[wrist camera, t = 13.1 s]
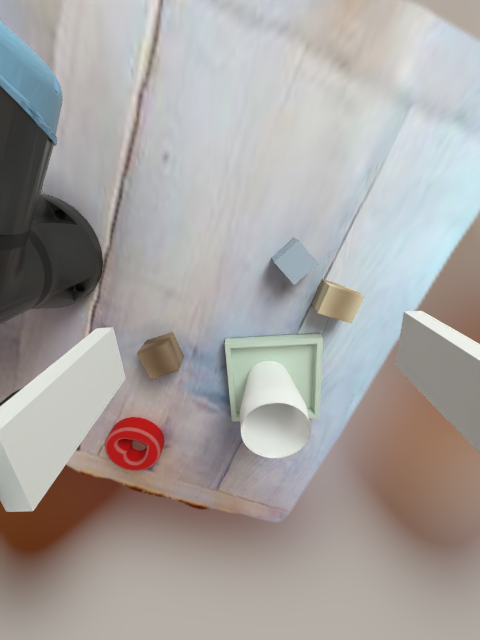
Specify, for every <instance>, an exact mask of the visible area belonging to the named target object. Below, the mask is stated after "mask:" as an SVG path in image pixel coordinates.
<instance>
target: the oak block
mask: <svg viewBox="0 0 480 640" xmlns="http://www.w3.org/2000/svg"><path fill="white" fill-rule="evenodd" d="M363 299H364V296H363V295H361V294H360V293H359V292H357V291H356V290H354V289H352V288H349V287H346V286H342V285H339V284H336V283H333V282H330V281H327V280H323V279H322V281H321V283H320V285H319V288H318V290H317V293H316V295H315V297H314V300H313V302H312V306H313V307H314V309H315V310H316V311H317V313H319V314H322V315H325V316H329V317H332V318H335V319H338V320H342V321H345V322H348V323H352V321H353V319H354V317H355V315H356V313H357V311H358V309H359V307H360V305H361V303H362V301H363Z"/></svg>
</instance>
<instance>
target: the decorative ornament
mask: <svg viewBox="0 0 480 640" xmlns="http://www.w3.org/2000/svg"><path fill="white" fill-rule="evenodd" d="M129 439H132V440H136V441H139V442H142V443H144V444H146V445H147V448H146V449H145V450H143V451H137V450H135V449H134V448H133V447H132V441H131V440H129ZM163 446H164V436H163V433H162V431H161V430H160V429H159V428H158V427H157V426H156V425H155V424H154V423H152V422H150V421H148V420H146V419H143V418H136V417H131V418H126V419H123V420H121V421H119V422H118V423H117V424H116V425H115V426H114V427H113V429H112V431H111V432H110V434H109V436H108V437H107V439H106V442H105V449H106V453H107V455H108V456H109V458H110V459H111V460H112V461H113V462H114V463H115V464H116V465H118V466H120V467H122V468H124V469H128V470H144V469H147V468H150V467H151V466H153V465H154V464H155V463H156V462H157V461H158V459H159V457H160V454H161V451H162V449H163Z"/></svg>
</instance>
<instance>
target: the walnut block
mask: <svg viewBox="0 0 480 640" xmlns="http://www.w3.org/2000/svg"><path fill="white" fill-rule="evenodd" d="M137 355H138V357H139V359H140V361H141V362H142V364H143V366H144V368H145V370H146V372H147V374H148V376H149V378H150V379H153V378H156V377H159V376H163V375H166V374H170V373H173V372H176V371H178V370H179V368H180V365H181V363H182V360H183V358H184V355H183V353H182V351H181V349H180V347H179V344H178V342H177V340H176V338H175V336H174V334H173V332H172V333H169V334H166V335H162V336H159V337H156V338H153V339H150V340H147V341H146V342H145V343H144V345H143V346H142V347H141V349H140V350H139V351H138V353H137Z"/></svg>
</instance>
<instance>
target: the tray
mask: <svg viewBox="0 0 480 640" xmlns="http://www.w3.org/2000/svg"><path fill="white" fill-rule="evenodd" d="M322 348H323V338H322V336H321V334H320V333H310V334H292V335H273V336H254V337H236V338H225V353H226V363H227V374H228V385H229V395H230V406H231V417H232V422H239V421H240V409H241V404H242V400H243V396H244V391H245V387H246V383H247V378H248V374H249V372H250V370H251V369H252V368H253V367H254V366H255V365H256V364H258V363H260V362H263V361H274V362H278V363H280V364H281V365H283V366H284V367H285V369H286V370H287V372H288V374H289V375H290V377H291V379H292V381H293V383H294V384H295V386H296V388H297V390H298V392H299V393H300V395H301V397H302V399H303V401H304V402H305V405H306V407H307V412H308V417H309V418H319V417H320V394H321V371H322Z"/></svg>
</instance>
